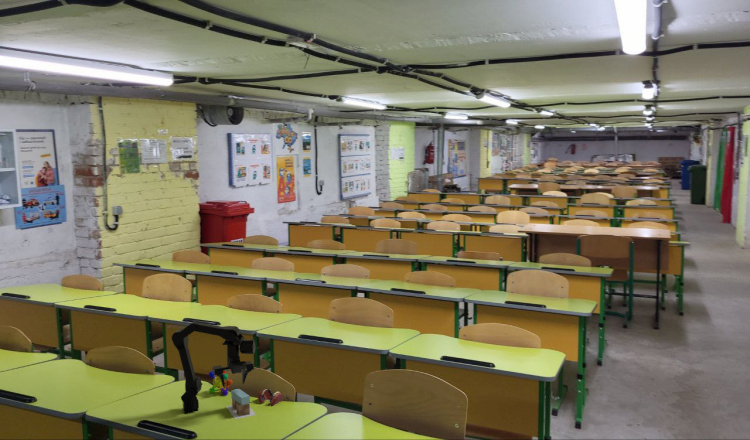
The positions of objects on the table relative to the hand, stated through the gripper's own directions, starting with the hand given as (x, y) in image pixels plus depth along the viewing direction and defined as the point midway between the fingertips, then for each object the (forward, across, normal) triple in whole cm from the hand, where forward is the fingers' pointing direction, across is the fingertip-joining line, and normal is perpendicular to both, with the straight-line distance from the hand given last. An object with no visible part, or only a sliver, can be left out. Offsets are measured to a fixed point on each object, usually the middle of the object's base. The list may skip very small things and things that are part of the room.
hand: (233, 385), depth 281 cm
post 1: (+12, +3, +1) cm, 12 cm away
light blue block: (+7, +2, -3) cm, 8 cm away
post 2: (+12, +3, -7) cm, 14 cm away
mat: (+12, +3, -3) cm, 13 cm away
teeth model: (+12, +19, +1) cm, 22 cm away
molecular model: (+13, -1, +25) cm, 28 cm away
